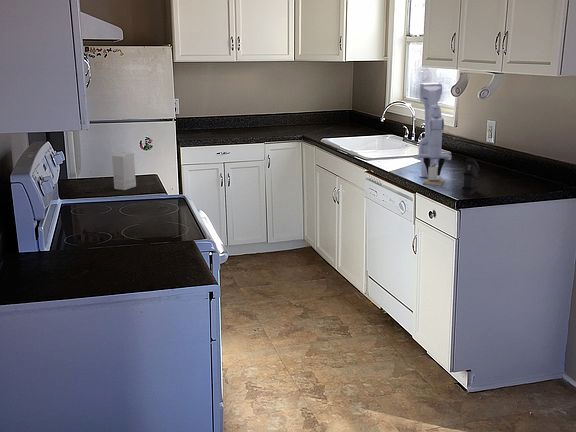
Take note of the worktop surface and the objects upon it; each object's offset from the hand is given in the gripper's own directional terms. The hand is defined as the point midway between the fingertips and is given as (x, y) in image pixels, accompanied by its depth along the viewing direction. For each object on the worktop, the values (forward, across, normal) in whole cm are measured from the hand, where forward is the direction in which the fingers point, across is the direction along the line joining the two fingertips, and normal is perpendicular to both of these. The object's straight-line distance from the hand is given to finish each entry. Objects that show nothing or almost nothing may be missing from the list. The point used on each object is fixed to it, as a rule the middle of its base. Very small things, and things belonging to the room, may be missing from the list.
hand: (433, 174), depth 299 cm
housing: (+2, 0, 0) cm, 2 cm away
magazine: (+4, +18, -15) cm, 24 cm away
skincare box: (+4, -130, -52) cm, 140 cm away
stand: (+4, 0, 0) cm, 4 cm away
